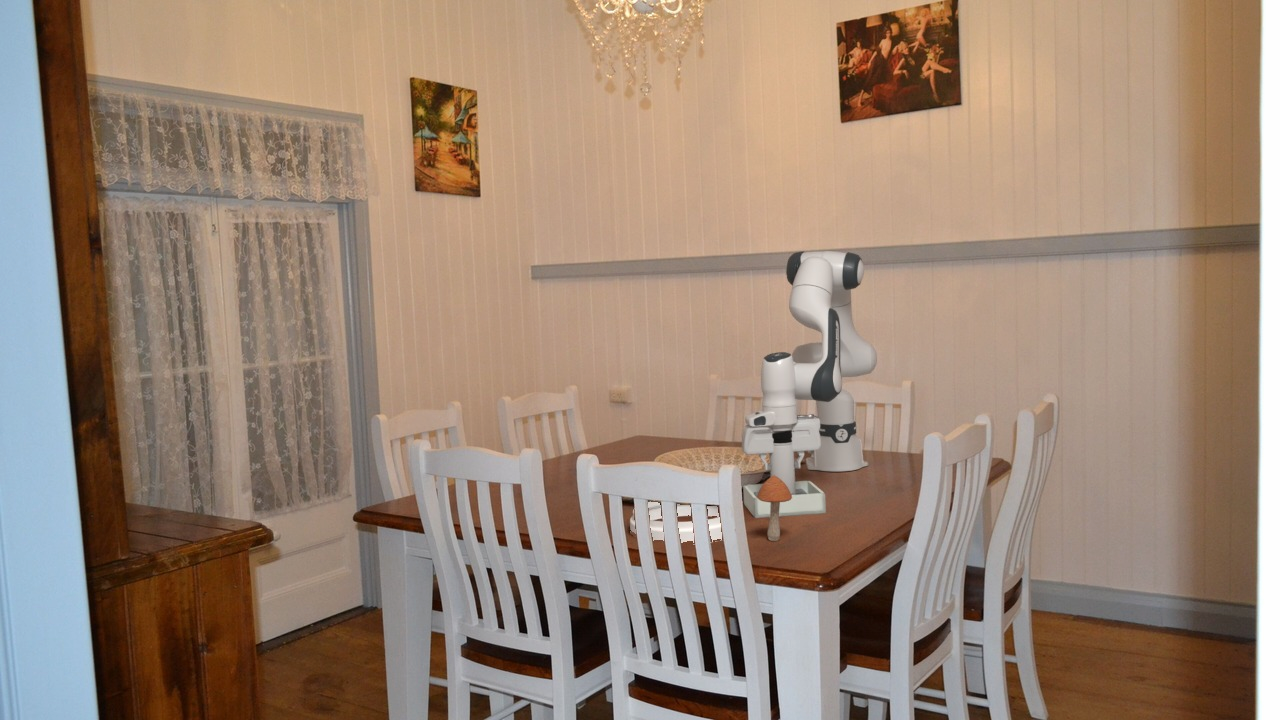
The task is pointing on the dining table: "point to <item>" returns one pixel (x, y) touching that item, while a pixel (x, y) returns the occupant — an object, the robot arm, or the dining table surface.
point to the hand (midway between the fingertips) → (782, 469)
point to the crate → (802, 503)
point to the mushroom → (774, 503)
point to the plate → (684, 527)
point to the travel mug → (783, 459)
